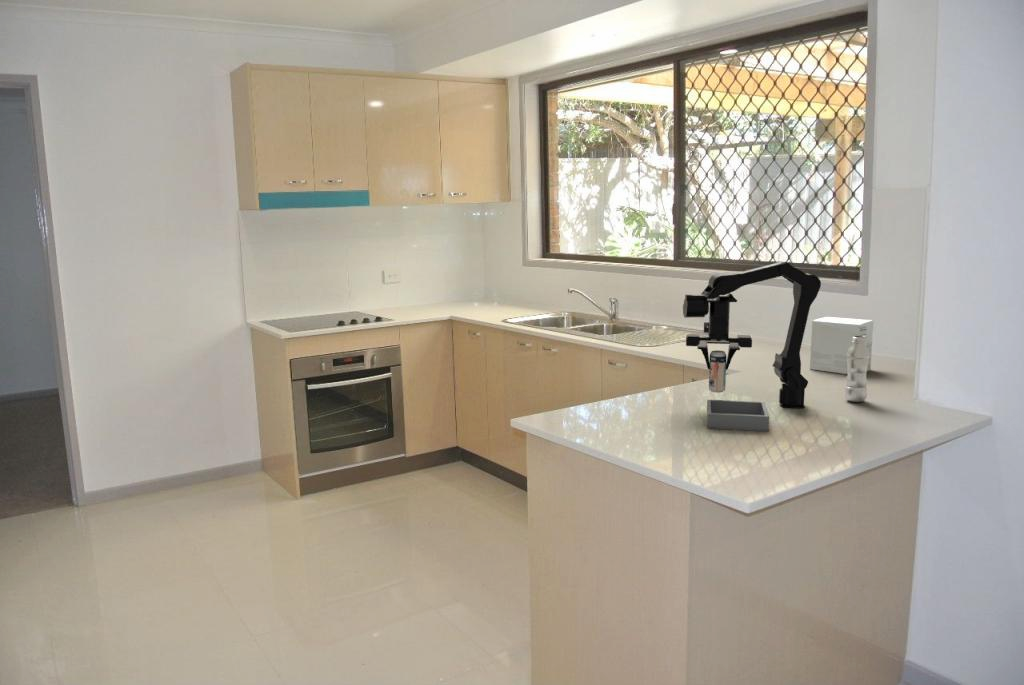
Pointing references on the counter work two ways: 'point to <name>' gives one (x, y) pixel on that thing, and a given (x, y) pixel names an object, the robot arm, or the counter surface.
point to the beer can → (717, 371)
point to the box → (737, 415)
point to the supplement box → (837, 342)
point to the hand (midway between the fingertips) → (717, 369)
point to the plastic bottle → (857, 370)
